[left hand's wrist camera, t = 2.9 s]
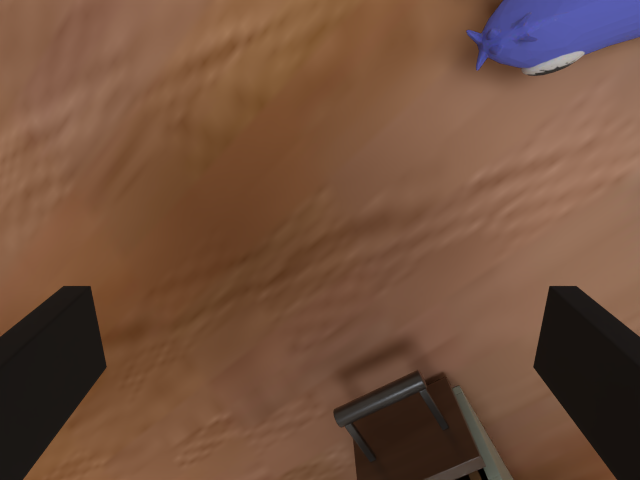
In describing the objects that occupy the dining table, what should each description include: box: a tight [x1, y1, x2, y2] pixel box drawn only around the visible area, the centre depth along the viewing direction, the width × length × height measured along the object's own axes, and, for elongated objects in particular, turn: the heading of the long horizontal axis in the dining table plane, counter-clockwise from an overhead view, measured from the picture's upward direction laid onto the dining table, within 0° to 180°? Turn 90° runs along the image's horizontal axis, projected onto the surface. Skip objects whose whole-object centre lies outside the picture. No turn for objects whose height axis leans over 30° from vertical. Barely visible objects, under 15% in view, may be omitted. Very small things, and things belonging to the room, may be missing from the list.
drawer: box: [333, 370, 488, 480], centre depth 39 cm, size 23×10×9 cm, turn 30°
